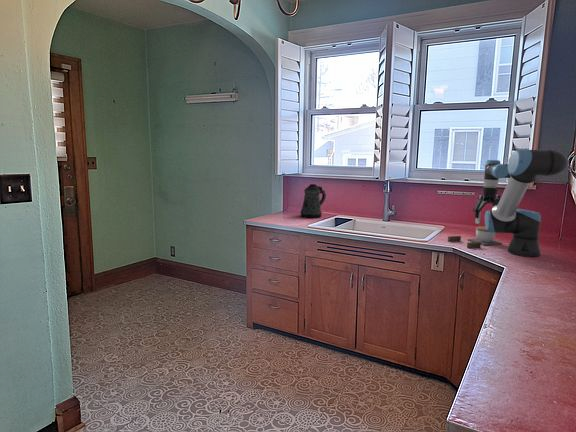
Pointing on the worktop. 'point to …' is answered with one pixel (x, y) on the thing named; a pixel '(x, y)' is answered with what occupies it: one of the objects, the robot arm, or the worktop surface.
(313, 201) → the dark grey tall jug
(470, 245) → the pot cradle
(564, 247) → the worktop surface
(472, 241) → the rubber mat
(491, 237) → the lidded jar
